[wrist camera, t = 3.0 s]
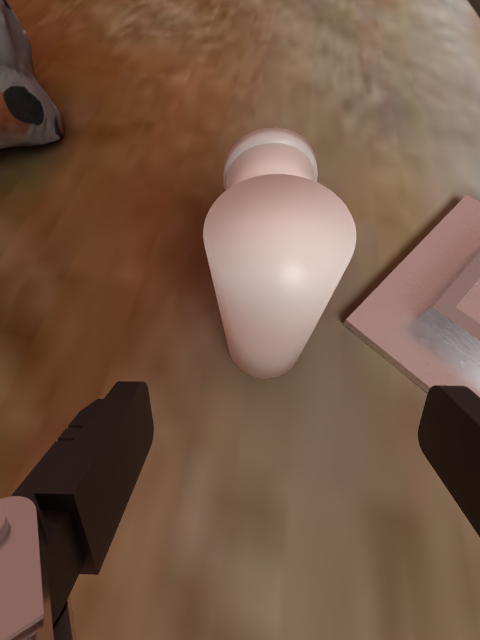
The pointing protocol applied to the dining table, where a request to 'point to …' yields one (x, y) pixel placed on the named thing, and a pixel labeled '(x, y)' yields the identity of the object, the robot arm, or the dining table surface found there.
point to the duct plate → (431, 306)
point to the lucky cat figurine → (22, 90)
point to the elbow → (274, 249)
